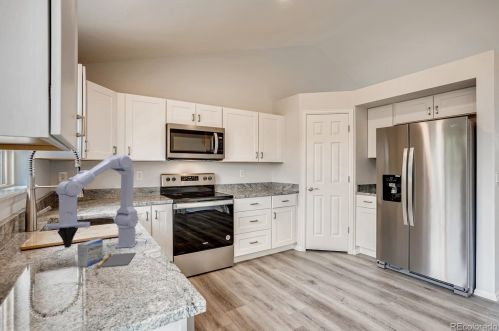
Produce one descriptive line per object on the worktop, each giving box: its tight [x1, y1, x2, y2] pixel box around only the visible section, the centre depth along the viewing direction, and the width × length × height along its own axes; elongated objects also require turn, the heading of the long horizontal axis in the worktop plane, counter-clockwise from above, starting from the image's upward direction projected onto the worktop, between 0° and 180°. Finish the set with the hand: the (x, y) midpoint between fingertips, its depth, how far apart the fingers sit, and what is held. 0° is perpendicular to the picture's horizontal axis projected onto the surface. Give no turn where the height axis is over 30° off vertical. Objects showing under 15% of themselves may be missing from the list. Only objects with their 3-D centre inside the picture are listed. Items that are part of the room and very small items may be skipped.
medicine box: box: [77, 238, 104, 268], centre depth 99 cm, size 8×4×9 cm, turn 168°
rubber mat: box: [101, 252, 137, 268], centre depth 102 cm, size 14×9×1 cm, turn 13°
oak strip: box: [96, 252, 112, 270], centre depth 100 cm, size 14×1×1 cm, turn 13°
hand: (67, 247), depth 97 cm, fingers closed
